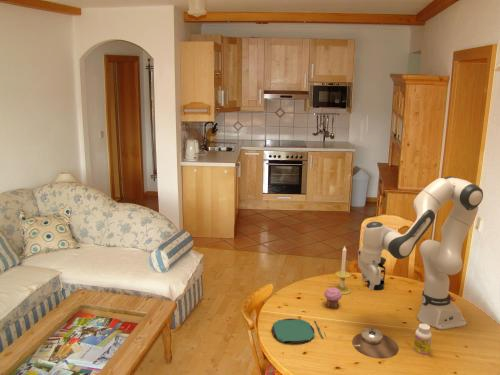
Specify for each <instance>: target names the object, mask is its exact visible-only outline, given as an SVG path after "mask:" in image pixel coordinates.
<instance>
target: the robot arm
mask: <svg viewBox="0 0 500 375" xmlns="http://www.w3.org/2000/svg"><path fill="white" fill-rule="evenodd" d="M429 183H430V184H427V186H426V187H425V188H423V189H422V190H421V191H420V192H419V193H418V194H417V196H416V197H415V198H414V200H413V205H412V206H413V209H414V211H415V213H416V219H415V220H414V222H413V224H412V225H411V226H410V227H409V229H408V230H407V231H405V233H403V234H402V233H400V232H399V231H397V230H396V229H394V228H392V227H389V226H386V225H384V224H383V223H382V222H380V221H371V222H369V223H366V224H365V227H364V229H363V230H364V231H363V233H362V234H363V235H362V247H361V249H358V250H357V254H358V259H357V264H358V268H359V270H361V280H362V281H363V282H365V281H368V280H369V281H370V285H369V288H368V289H369V291H375V290H374V286H375V285H379V284H380V281H381V275H382V273H381V270H382V269H381V267H379V266H378V264H379V263H380V261H381V257H382V253H383V252H382V251H383V250H385V251H386V252H389V254H390V255H392V256H393V258H394V259H397V260H403V259H406V258H408V257H409V256H410V255H411V254H412V252H413V251H414V248H415V246H416V245H417V243H418V242H419V241H420V240H421V239H422V237H423V236H424V234H426V232H427V231H428V230H429V228H430V227H431V225H432V224H433V223H434V221H435V219H436V214H437V213H438V211H439V210H440V209H441V208H442V207H443V206H445V204H446V203H447V202H448V201H451V202H453V207H452V209H451V210H450V212H449V213H448V215H447V217H446V219H445V221H444V222H443V224H442V226H441V227H440V234H441V240H440V241H437V240H434V239H426V240H424V241H422V242H421V244H420V246H419V254H420V255H421V258H422V263H423V270H424V286H423V290H422V294H421V305H420V308H419V311H418V313H417V316H416V317H417V319H418V320H419V322H421V324H427V325H429V326H430V327H433V328H436V329H438V330H442V331H443V330H449V329H453V328H454V329H456V328H461V327H466V326H467V321H466V319H465V318H464V317H463V315H462V311H461V309H460V308H459V307H458V306H457V305H456V304H455V303H454V302H455V301H456V298H455V297H454V296H451V294H450V293H449V290H450V283H451V282H450V278H449V276H453V275H456V274H458V273H459V272H460V271H461V270H462V268H463V259H462V251H463V250H462V249H463V244H464V241H465V239H466V237H467V235H468V233H469V231H471V230H470V229H471V227H472V226H473V224H474V222H475V219H476V217H477V216H478V212H479V205H480V204H481V203H482V201H483V198H484V191H483V189H482V188H481V187H480V186H479V185H477V184H474V183H473V182H470V181H468V180H466V179H462V178H457V177H456V176H450V175H449V176H445V177H443V178H442V177H439V178H436V179H435V180H434V181H432V182H429ZM448 275H449V276H448Z"/></svg>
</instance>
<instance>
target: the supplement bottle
mask: <svg viewBox="0 0 500 375" xmlns="http://www.w3.org/2000/svg"><path fill="white" fill-rule="evenodd" d="M414 334H415V335H414V342H413V350H414V351H415V352H416V353H418V354H420V355H427V356H429V355H430V353H431V344H432V337H433V335H432V332H431V326H429V325H427V324H424V323H419V324H418V328H417V329H416V330H415V333H414Z"/></svg>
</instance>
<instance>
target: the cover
mask: <svg viewBox="0 0 500 375" xmlns="http://www.w3.org/2000/svg"><path fill="white" fill-rule="evenodd" d="M361 333H362V337H361V338H362V340H363V341H364V342H365V343H368V344H371V345H377V344H380V343H381V342H382V335H384V334H383V332H382V331H381V330H379V329H378V328H376V327H366V328H365V327H364V328H363V329H362V330H361Z"/></svg>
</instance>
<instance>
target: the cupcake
mask: <svg viewBox="0 0 500 375" xmlns="http://www.w3.org/2000/svg"><path fill="white" fill-rule="evenodd" d="M324 297H325V299H326V305H327V307H328V308H333V309H336V308H338V306H339V301H340V300H341V299H342V297H343V294H342V293H341V291H340V290H338V289H337V288H335V286H333V287H328V288H327V289H326V290H325V291H324Z"/></svg>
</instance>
